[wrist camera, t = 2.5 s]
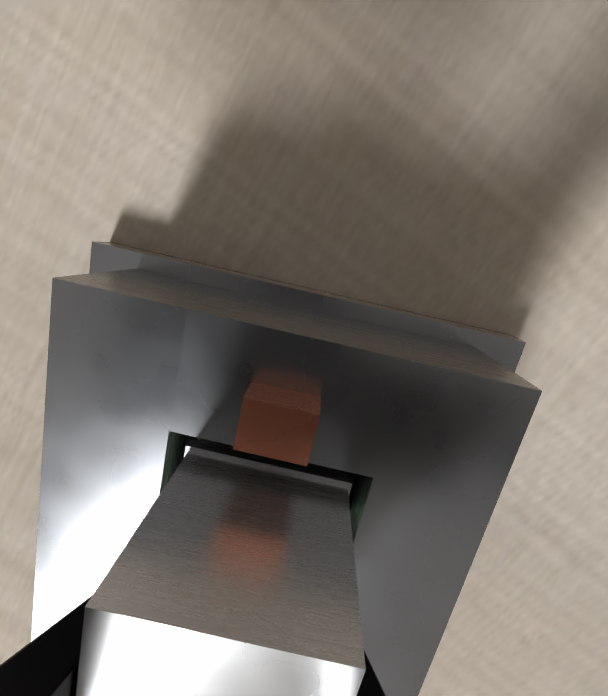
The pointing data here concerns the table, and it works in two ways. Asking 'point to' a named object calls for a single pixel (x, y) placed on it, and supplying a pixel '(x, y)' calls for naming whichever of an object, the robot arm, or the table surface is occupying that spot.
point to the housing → (275, 428)
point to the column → (231, 586)
